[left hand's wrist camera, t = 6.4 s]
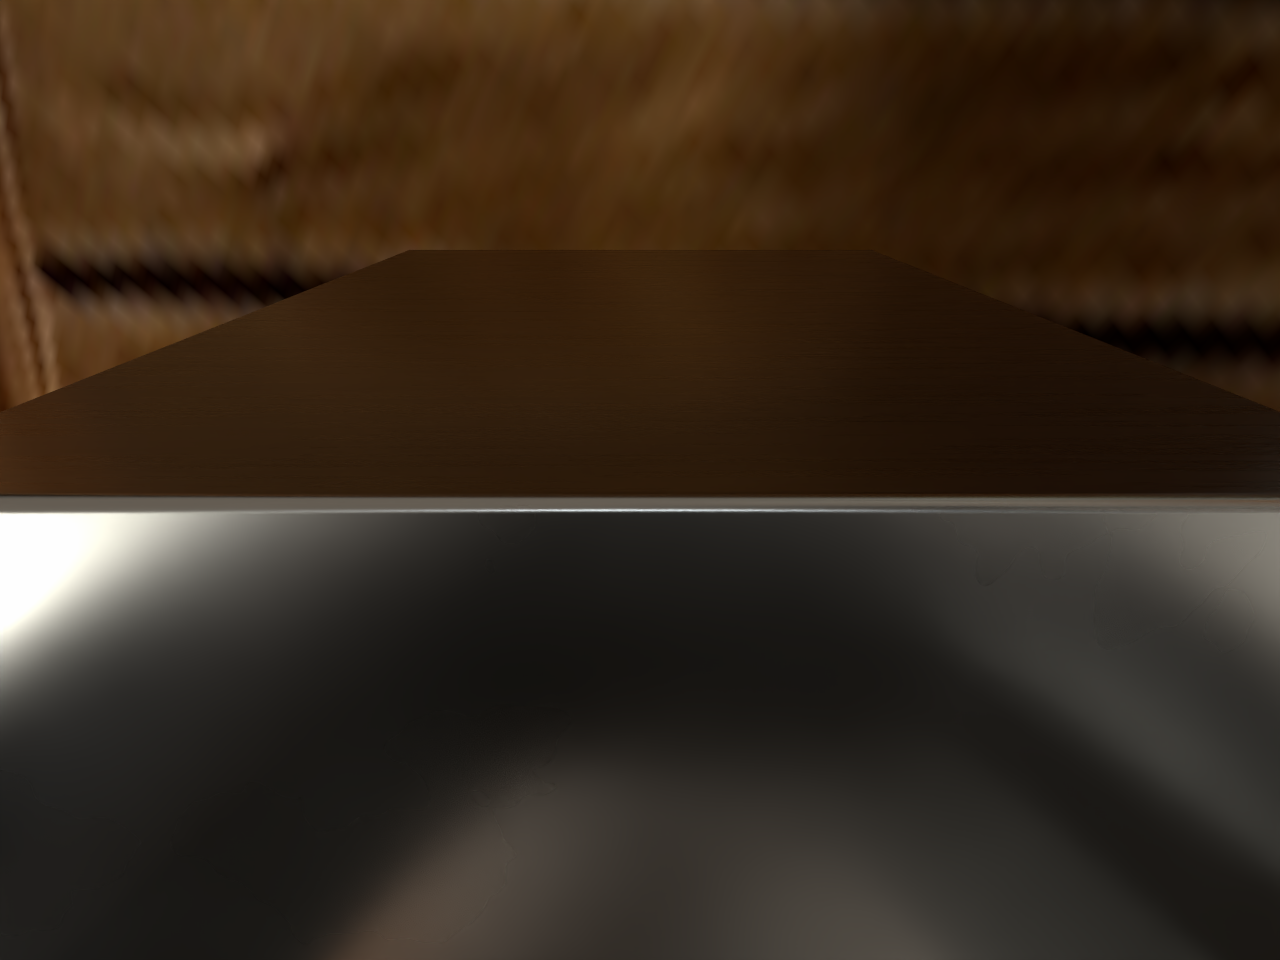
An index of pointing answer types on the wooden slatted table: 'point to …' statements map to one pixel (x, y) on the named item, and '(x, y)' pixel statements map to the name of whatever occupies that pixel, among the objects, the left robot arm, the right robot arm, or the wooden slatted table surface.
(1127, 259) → the wooden slatted table surface
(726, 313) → the box
